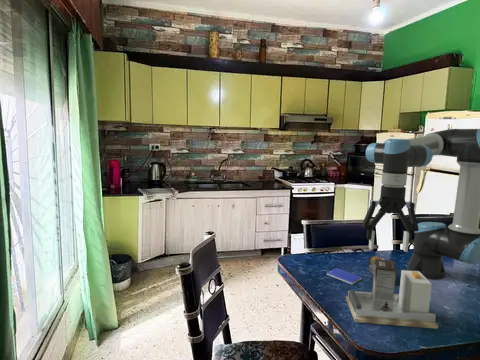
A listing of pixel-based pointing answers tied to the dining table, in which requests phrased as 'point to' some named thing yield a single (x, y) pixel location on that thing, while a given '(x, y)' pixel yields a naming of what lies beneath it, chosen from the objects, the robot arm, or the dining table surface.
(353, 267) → the dining table surface
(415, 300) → the breaker module
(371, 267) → the tin
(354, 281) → the hard drive
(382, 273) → the coffee box
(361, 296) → the white base stand
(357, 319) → the board
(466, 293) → the dining table surface
